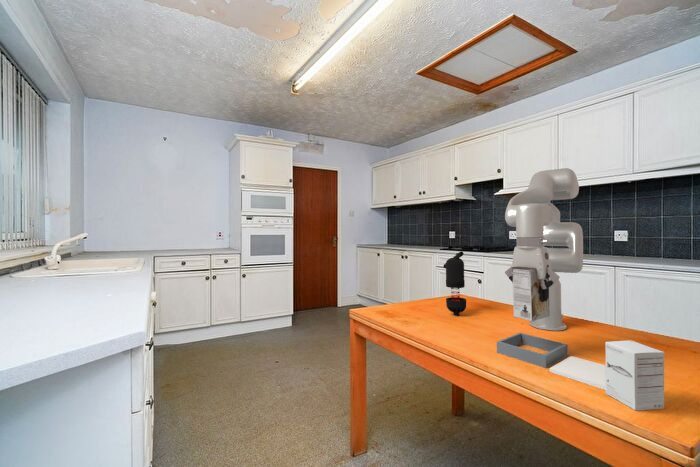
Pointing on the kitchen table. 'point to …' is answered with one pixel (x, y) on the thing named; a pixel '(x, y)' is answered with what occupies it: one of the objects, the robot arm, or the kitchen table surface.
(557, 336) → the kitchen table surface
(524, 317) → the coffee box
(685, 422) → the kitchen table surface
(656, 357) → the supplement box
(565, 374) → the mat
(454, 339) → the kitchen table surface
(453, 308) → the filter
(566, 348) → the packet holder
